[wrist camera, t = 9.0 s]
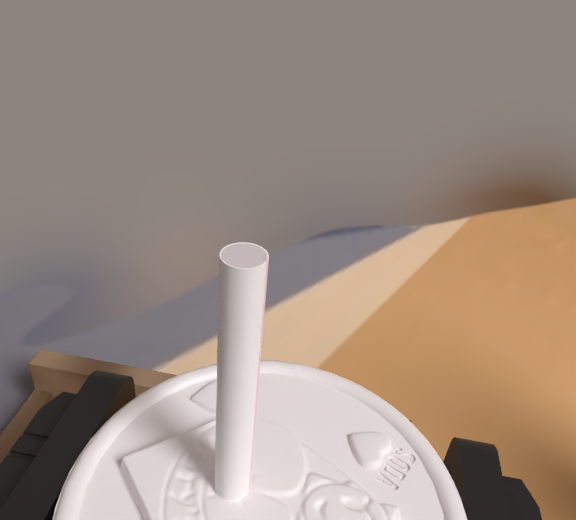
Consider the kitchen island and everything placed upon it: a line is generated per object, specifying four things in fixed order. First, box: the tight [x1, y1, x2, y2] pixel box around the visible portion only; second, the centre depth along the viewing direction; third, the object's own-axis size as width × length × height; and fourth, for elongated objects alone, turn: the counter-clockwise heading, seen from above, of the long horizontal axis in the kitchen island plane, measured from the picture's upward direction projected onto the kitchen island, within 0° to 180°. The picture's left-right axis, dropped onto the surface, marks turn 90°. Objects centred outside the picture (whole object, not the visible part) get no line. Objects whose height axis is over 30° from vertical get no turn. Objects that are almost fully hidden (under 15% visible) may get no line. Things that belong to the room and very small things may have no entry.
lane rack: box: [0, 349, 412, 464], centre depth 26 cm, size 21×13×4 cm, turn 80°
